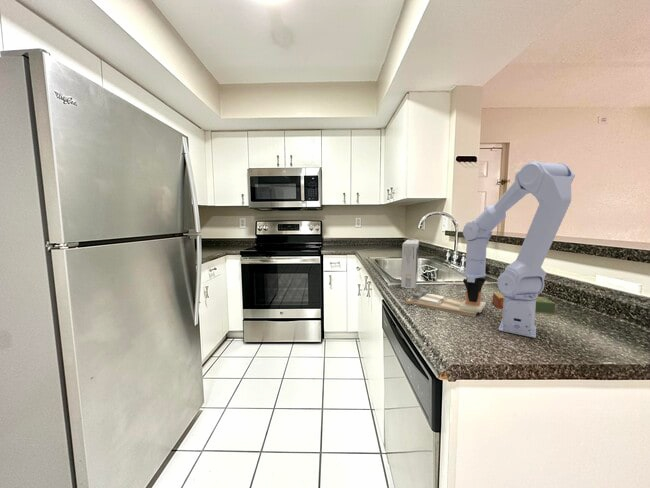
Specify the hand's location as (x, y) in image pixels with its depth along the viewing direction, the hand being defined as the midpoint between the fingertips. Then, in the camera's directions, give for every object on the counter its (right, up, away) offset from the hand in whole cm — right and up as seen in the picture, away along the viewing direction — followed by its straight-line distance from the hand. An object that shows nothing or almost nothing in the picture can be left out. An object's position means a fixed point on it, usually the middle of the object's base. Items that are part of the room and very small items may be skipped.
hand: (473, 300), depth 91 cm
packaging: (-7, 0, +44) cm, 44 cm away
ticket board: (-7, -3, +6) cm, 10 cm away
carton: (+18, -4, +3) cm, 19 cm away
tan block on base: (0, -2, 0) cm, 2 cm away
